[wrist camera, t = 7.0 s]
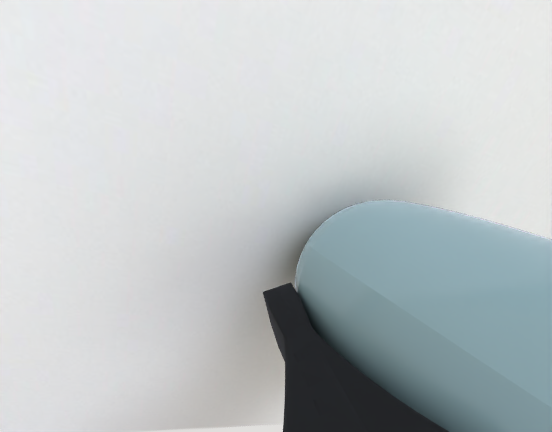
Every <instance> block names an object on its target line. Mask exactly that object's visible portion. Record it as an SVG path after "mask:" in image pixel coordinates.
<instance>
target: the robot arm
mask: <svg viewBox="0 0 552 432" xmlns="http://www.w3.org/2000/svg"><path fill="white" fill-rule="evenodd" d="M263 294H264V298H265V302H266V306H267V310H268V314H269V318H270V322H271V325H272V328H273V331H274V334H275V338H276V341H277V344H278V347H279V349H280V351H281V354H282V356H283V358H284V361H285V407H284V425H283V432H449V431H447V430H446V429H444V428H442V427H441V426H439V425H438V424H436V423H434V422H433V421H431V420H429V419H428V418H426V417H425V416H423V415H421V414H420V413H418V412H417V411H415V410H414V409H412V408H411V407H409V406H408V405H406V404H405V403H403V402H402V401H400V400H399V399H397V398H396V397H394V396H393V395H391V394H390V393H389V392H387V391H386V390H385V389H383V388H382V387H380V386H379V385H378V384H376V383H375V382H374V381H372V380H371V379H370V378H368V377H367V376H365V375H364V374H363V373H362V372H360V371H359V370H358V369H357V368H355V367H354V366H353V365H352V364H350V363H349V362H348V361H347V360H346V359H345V358H343V357H342V356H341V355H340V354H339V353H338V352H337V351H335V350H334V349H333V348H332V347H331V346H330V345H329V344H328V343H327V342H326V341H325V340H324V339H323V338H322V337H320V336H319V335H318V334H317V333H316V332H315V331H314V329H313V328H312V326H311V324H310V321H309V319H308V316H307V314H306V311H305V309H304V307H303V304H302V302H301V299H300V297H299V295H298V293H297V292H296V290H295V288H294V287H293V285H292V284H291V283H288V284H285V285H282V286H279V287H276V288H273V289H270V290H267V291H265V292H263Z"/></svg>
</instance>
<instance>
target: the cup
mask: <svg viewBox="0 0 552 432" xmlns="http://www.w3.org/2000/svg"><path fill="white" fill-rule="evenodd" d="M295 290H296V292H297V293H298V295H299V297H300V299H301V302H302V304H303V307H304V309H305V311H306V314H307V316H308V319H309V321H310V324H311V326H312V328H313V329H314V331H315V332H316V333H317V334H318V335H319V336H320V337H322V338H323V339H324V340H325V341H326V342H327V343H328V344H329V345H330V346H331V347H332V348H333V349H334V350H335V351H337V352H338V353H339V354H340V355H341V356H342V357H343V358H345V359H346V360H347V361H348V362H349V363H350V364H352V365H353V366H354V367H355V368H357V369H358V370H359V371H360V372H362V373H363V374H364V375H365V376H367V377H368V378H370V379H371V380H372V381H374V382H375V383H376V384H378V385H379V386H380V387H382V388H383V389H385V390H386V391H387V392H389V393H390V394H391V395H393V396H394V397H396V398H397V399H399V400H400V401H402V402H403V403H405V404H406V405H408V406H409V407H411V408H412V409H414V410H415V411H417V412H418V413H420V414H421V415H423V416H425V417H426V418H428V419H429V420H431V421H433V422H434V423H436V424H438V425H439V426H441V427H442V428H444V429H446V430H447V431H449V432H552V239H550V238H547V237H543V236H540V235H537V234H533V233H530V232H527V231H524V230H520V229H517V228H513V227H510V226H507V225H503V224H500V223H496V222H493V221H489V220H486V219H482V218H478V217H474V216H471V215H467V214H463V213H459V212H455V211H451V210H447V209H442V208H438V207H433V206H428V205H423V204H418V203H412V202H406V201H397V200H372V201H366V202H361V203H356V204H354V205H351V206H349V207H346V208H344V209H342V210H340V211H338V212H337V213H335V214H333V215H332V216H330V217H329V218H328V219H327V220H325V221H324V222H323V223H322V224H321V225H320V226H319V227H318V228H317V229H316V230H315V231H314V232H313V234H312V235H311V237H310V238H309V240H308V241H307V242H306V244H305V246H304V248H303V250H302V252H301V255H300V258H299V261H298V264H297V268H296V274H295Z"/></svg>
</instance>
